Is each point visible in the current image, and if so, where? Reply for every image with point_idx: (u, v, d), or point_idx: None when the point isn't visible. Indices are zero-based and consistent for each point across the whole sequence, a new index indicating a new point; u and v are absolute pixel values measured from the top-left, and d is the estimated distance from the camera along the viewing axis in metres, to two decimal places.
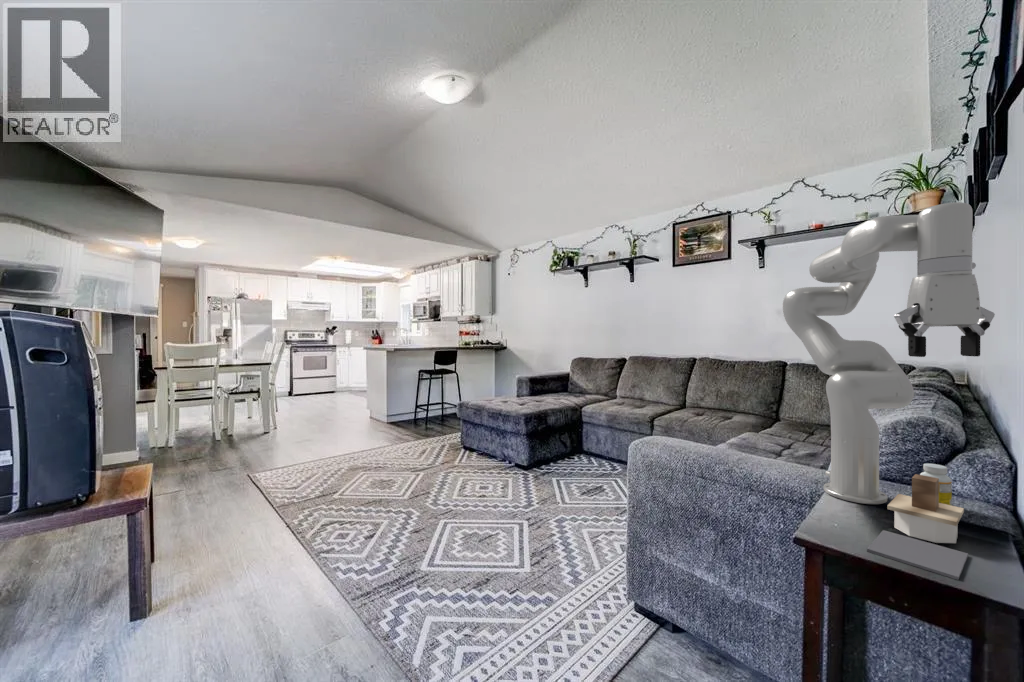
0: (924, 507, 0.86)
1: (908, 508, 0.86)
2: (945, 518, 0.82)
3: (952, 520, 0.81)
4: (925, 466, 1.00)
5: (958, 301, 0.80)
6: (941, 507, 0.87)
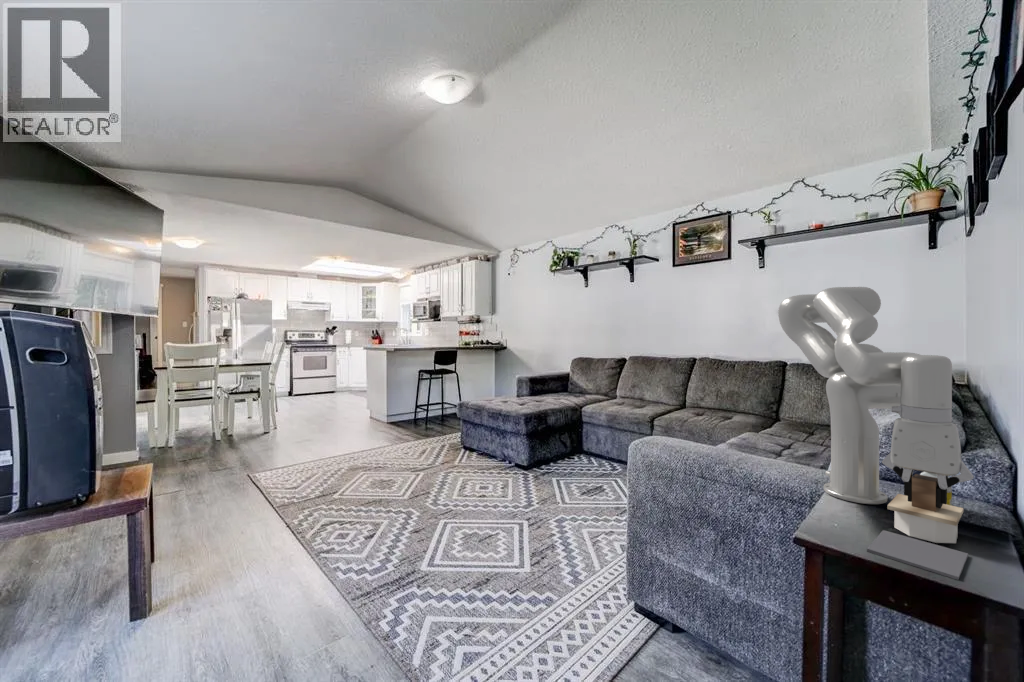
0: (924, 507, 0.86)
1: (908, 508, 0.86)
2: (945, 518, 0.82)
3: (952, 520, 0.81)
4: None
5: None
6: (941, 507, 0.87)
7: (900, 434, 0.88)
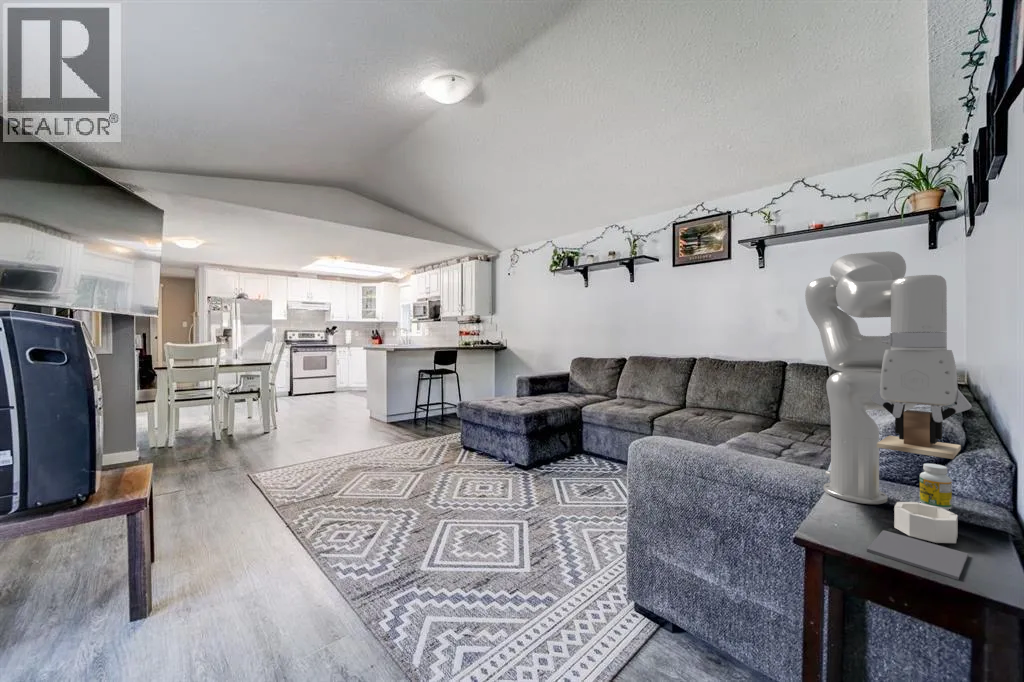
0: (917, 443, 0.77)
1: (899, 445, 0.78)
2: (940, 452, 0.73)
3: (948, 453, 0.72)
4: (925, 466, 1.00)
5: None
6: (936, 444, 0.78)
7: (891, 364, 0.79)
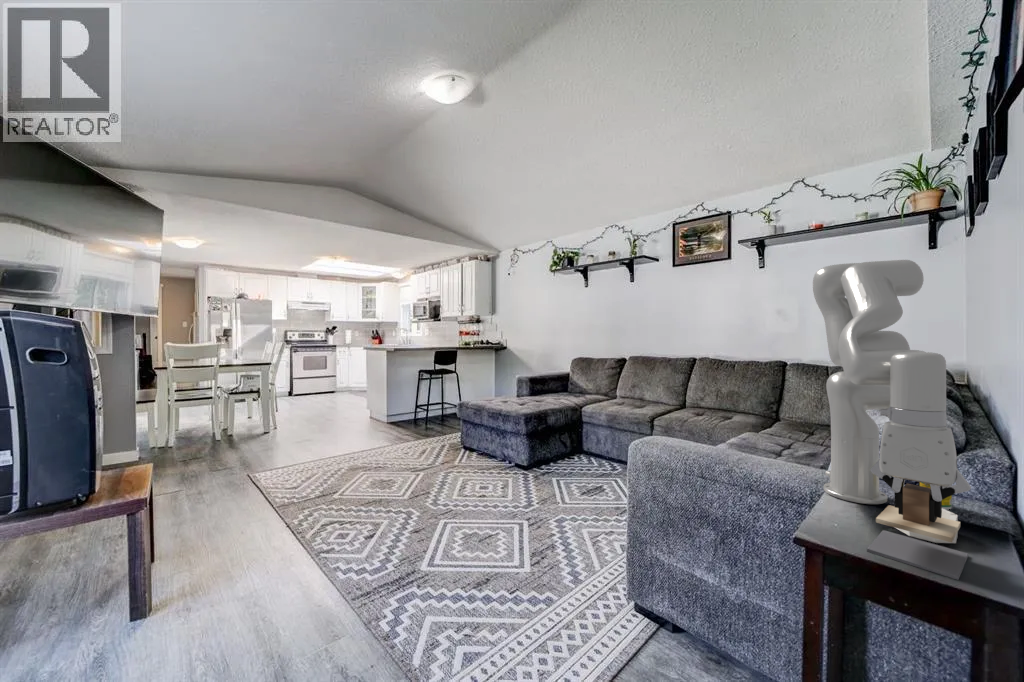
0: (916, 520, 0.77)
1: (899, 521, 0.78)
2: (939, 533, 0.73)
3: (947, 536, 0.72)
4: None
5: None
6: None
7: (890, 439, 0.79)
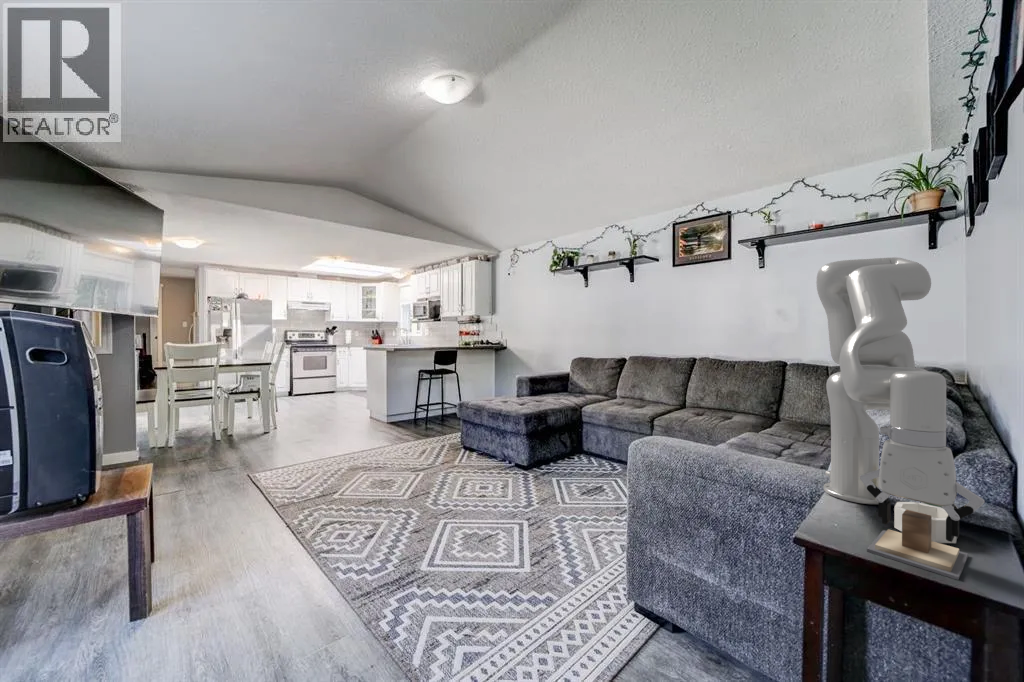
0: (915, 548, 0.78)
1: (898, 548, 0.78)
2: (938, 562, 0.73)
3: (946, 565, 0.73)
4: None
5: None
6: (934, 547, 0.78)
7: (890, 458, 0.80)
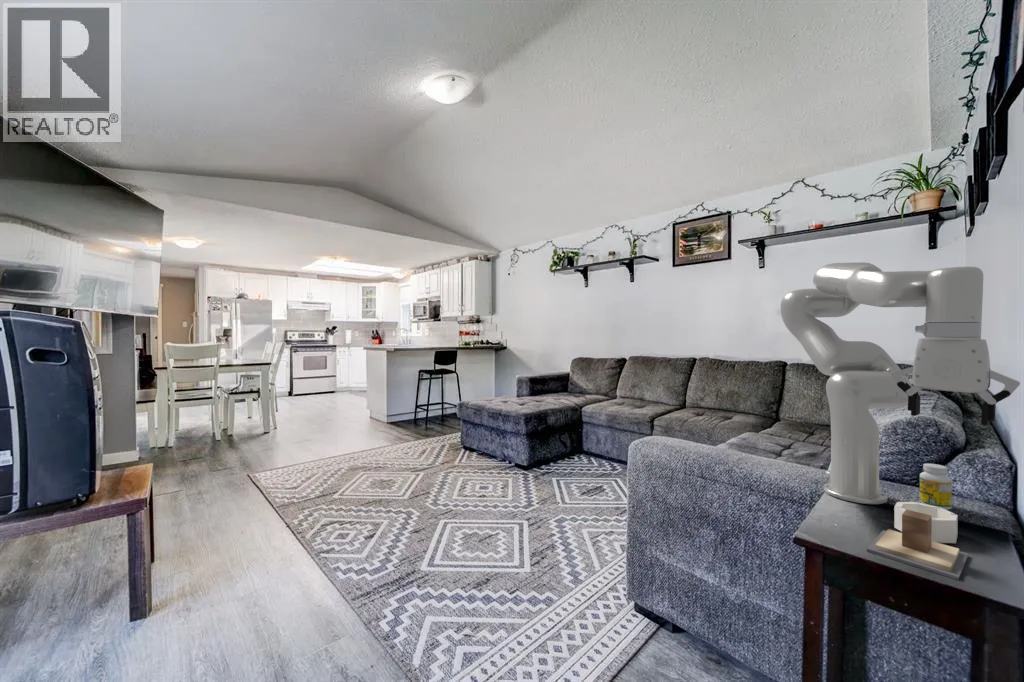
0: (915, 548, 0.78)
1: (898, 548, 0.78)
2: (938, 562, 0.73)
3: (946, 565, 0.73)
4: (925, 466, 1.00)
5: None
6: (934, 547, 0.78)
7: (924, 353, 0.83)
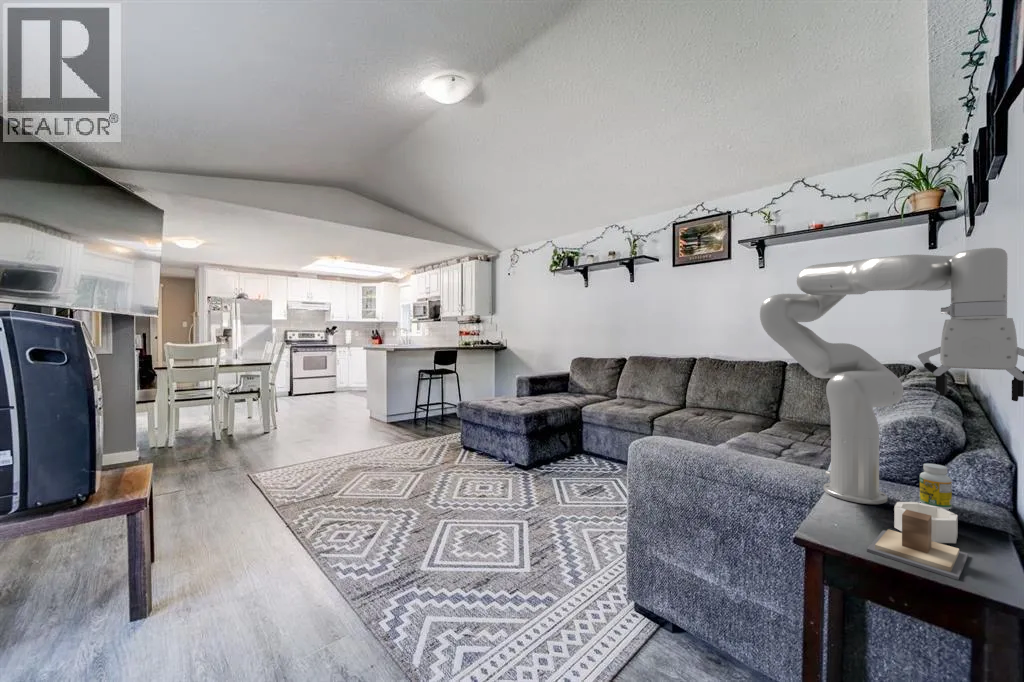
0: (915, 548, 0.78)
1: (898, 548, 0.78)
2: (938, 562, 0.73)
3: (946, 565, 0.73)
4: (925, 466, 1.00)
5: None
6: (934, 547, 0.78)
7: (952, 333, 0.85)
